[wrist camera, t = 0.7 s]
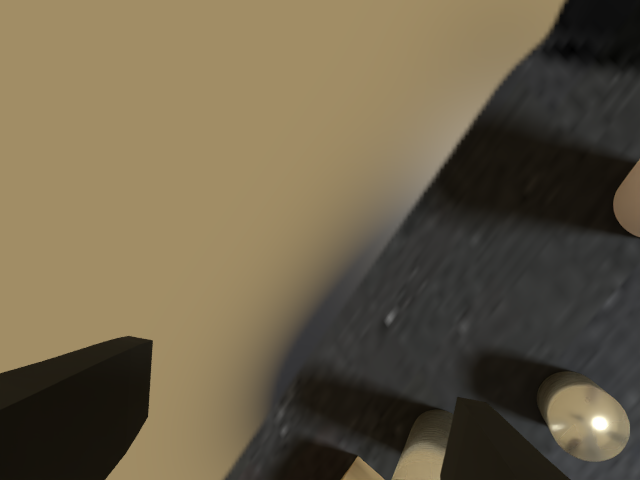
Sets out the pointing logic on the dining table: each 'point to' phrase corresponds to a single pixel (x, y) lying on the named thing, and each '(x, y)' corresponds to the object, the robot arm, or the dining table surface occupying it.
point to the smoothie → (629, 202)
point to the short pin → (582, 416)
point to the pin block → (361, 472)
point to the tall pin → (425, 447)
